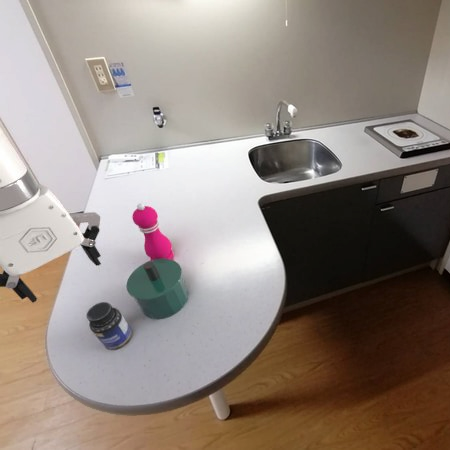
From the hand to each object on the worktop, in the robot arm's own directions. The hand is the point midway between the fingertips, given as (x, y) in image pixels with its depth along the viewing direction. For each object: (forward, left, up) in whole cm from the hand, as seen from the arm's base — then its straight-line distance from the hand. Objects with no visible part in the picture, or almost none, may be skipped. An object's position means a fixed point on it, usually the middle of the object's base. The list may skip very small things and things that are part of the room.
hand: (65, 278), depth 51 cm
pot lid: (+14, +7, -19) cm, 24 cm away
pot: (+14, +7, -27) cm, 31 cm away
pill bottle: (+1, +6, -27) cm, 28 cm away
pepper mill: (+22, +21, -27) cm, 41 cm away
